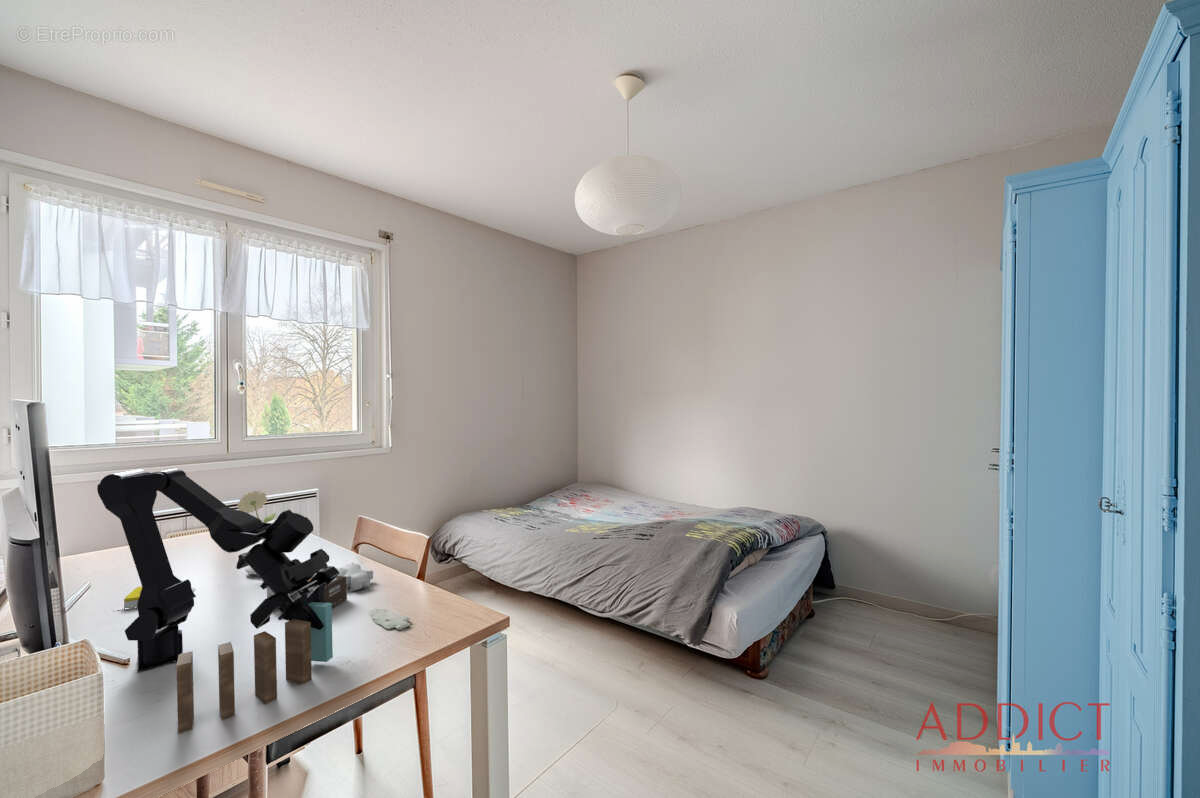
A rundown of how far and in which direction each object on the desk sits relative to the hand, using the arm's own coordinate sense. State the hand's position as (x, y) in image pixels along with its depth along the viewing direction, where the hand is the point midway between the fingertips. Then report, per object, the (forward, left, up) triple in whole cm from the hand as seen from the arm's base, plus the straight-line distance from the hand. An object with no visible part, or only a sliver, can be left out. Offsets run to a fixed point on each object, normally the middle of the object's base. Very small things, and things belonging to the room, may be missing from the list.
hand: (325, 625), depth 101 cm
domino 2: (-17, -5, -8) cm, 19 cm away
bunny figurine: (+17, +42, -8) cm, 46 cm away
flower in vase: (0, +70, -8) cm, 70 cm away
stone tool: (+16, +12, -9) cm, 22 cm away
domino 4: (-5, -2, -8) cm, 10 cm away
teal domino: (-1, +1, -7) cm, 7 cm away
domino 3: (-11, -4, -8) cm, 14 cm away
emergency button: (-25, +66, -9) cm, 71 cm away
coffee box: (-1, +41, -5) cm, 42 cm away
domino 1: (-22, -4, -8) cm, 24 cm away
